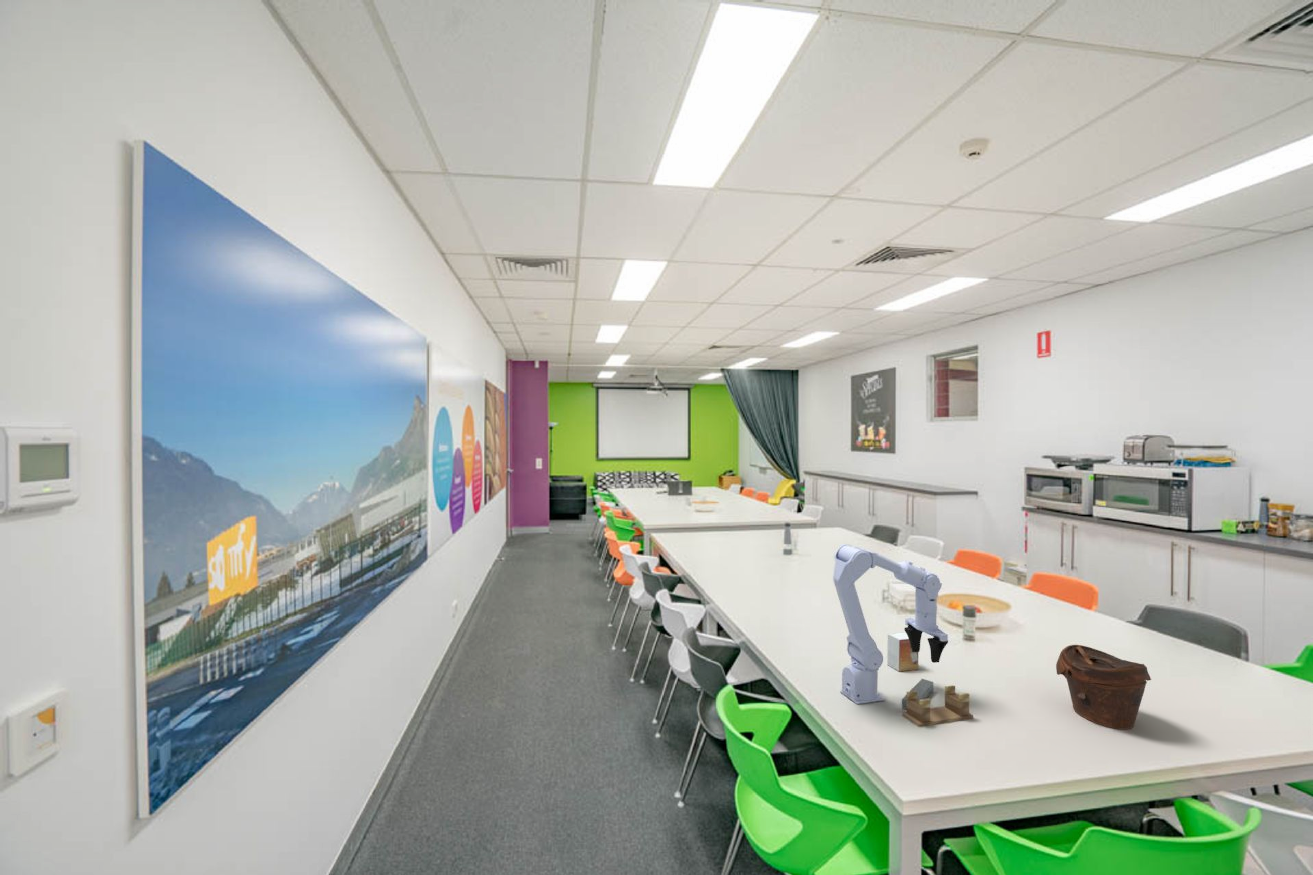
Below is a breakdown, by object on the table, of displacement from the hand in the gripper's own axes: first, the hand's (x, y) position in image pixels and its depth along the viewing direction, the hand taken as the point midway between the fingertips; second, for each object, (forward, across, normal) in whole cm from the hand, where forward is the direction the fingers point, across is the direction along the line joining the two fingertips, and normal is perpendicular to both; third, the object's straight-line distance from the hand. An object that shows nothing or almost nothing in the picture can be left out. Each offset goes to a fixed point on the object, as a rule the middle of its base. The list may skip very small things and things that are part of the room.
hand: (925, 656), depth 157 cm
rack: (+10, -13, +8) cm, 18 cm away
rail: (+11, -4, +6) cm, 13 cm away
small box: (+11, +16, -6) cm, 20 cm away
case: (+11, -24, -37) cm, 45 cm away
